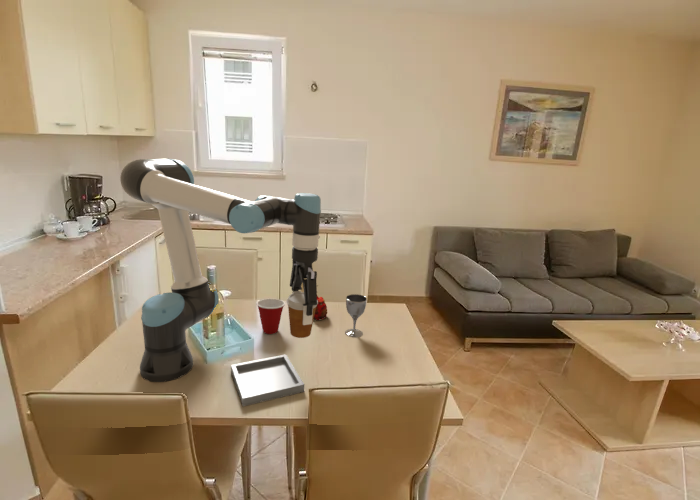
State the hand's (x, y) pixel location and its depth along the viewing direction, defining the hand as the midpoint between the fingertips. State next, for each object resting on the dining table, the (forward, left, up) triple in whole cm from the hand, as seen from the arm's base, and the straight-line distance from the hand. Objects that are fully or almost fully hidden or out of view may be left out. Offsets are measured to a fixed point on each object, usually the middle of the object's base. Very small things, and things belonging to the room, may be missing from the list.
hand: (301, 317), depth 118 cm
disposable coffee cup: (0, 0, -6) cm, 6 cm away
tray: (-11, -1, -20) cm, 23 cm away
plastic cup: (-1, +31, -20) cm, 37 cm away
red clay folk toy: (+21, +37, -20) cm, 47 cm away
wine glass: (+29, +18, -20) cm, 40 cm away
